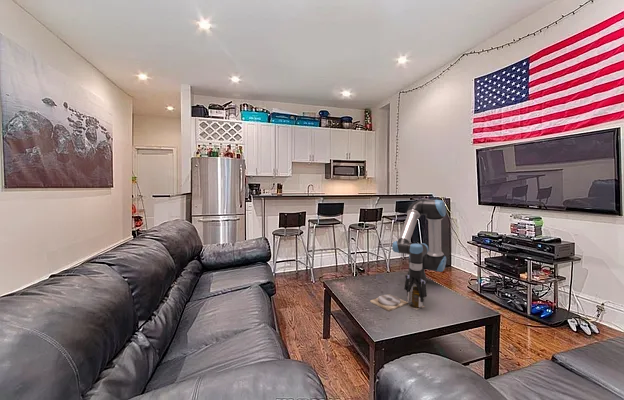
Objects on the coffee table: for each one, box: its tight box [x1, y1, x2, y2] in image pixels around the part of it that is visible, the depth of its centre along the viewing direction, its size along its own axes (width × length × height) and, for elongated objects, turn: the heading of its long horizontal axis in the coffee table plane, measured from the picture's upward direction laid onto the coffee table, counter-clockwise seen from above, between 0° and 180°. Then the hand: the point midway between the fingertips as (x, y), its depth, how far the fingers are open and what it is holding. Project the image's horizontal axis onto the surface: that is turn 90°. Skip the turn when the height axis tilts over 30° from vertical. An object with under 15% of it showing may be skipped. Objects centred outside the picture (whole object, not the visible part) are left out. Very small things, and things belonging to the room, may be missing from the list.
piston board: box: [369, 293, 409, 312], centre depth 183 cm, size 18×16×3 cm
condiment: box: [406, 285, 426, 311], centre depth 177 cm, size 7×8×12 cm
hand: (414, 304), depth 178 cm, fingers open, 8 cm apart
